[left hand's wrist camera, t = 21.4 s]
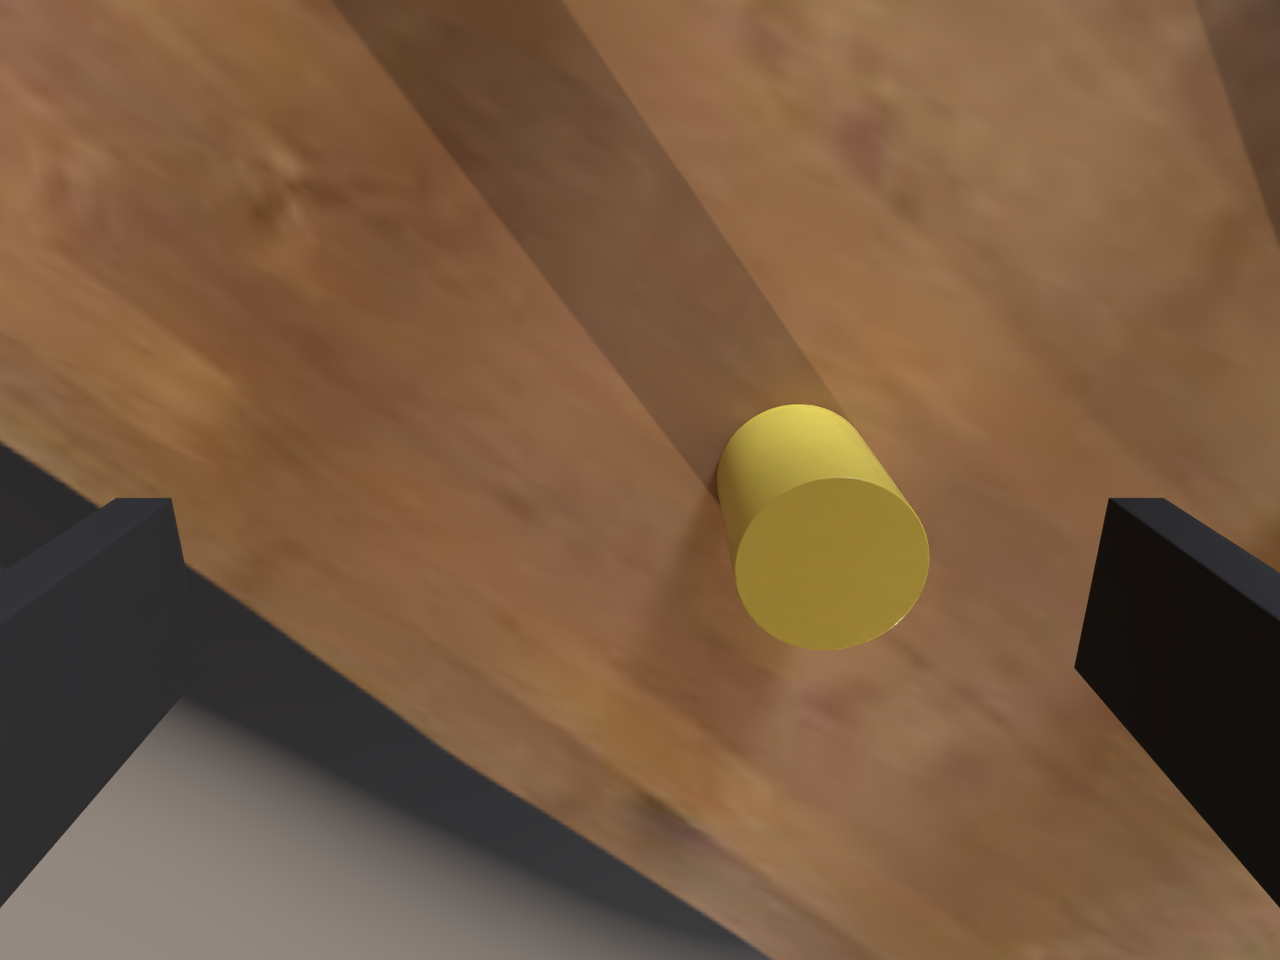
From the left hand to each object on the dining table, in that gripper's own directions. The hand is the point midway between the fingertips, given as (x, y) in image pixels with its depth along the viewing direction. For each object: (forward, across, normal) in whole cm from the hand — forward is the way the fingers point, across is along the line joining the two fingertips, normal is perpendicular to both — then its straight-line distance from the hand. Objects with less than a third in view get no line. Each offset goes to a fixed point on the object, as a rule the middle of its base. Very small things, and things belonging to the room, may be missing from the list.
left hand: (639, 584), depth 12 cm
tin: (+28, +7, -9) cm, 30 cm away
